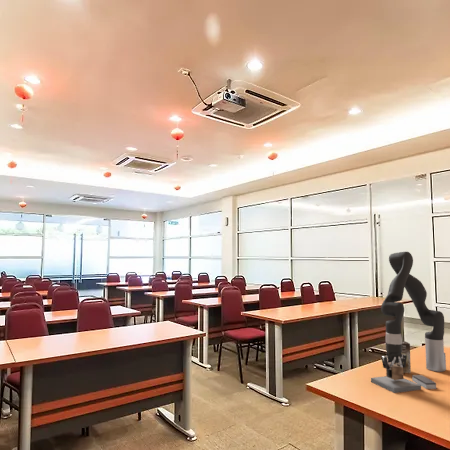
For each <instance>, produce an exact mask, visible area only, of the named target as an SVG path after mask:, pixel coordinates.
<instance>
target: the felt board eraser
mask: <svg viewBox="0 0 450 450" xmlns="http://www.w3.org/2000/svg"><path fill="white" fill-rule="evenodd" d="M411 380H412V382H414V383H417V384H419V385H421V388H424V389H426V390H437V382H435V381H434V380H431V379H430V378H428V377H427V376H425V375H422V374H412V378H411Z"/></svg>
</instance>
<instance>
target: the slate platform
mask: <svg viewBox="0 0 450 450" xmlns="http://www.w3.org/2000/svg"><path fill="white" fill-rule="evenodd" d="M403 378H404V377H403ZM370 382H371V383H372V384H375V385H377V386H379V387H380V388H382V389H385V390H387V391H389V392H391V393H393V394H396V393H397V394H398V393H404V392H405V393H406V392H413V391H421V390H422V386H421V385H419V384H417V383H415V382H414V381H411V380H409V379H407V378H404V379H399V380H393V379H391V378H389V377H386V375H385V376H384V375H383V376H376V377H371V378H370Z"/></svg>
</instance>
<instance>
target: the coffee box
mask: <svg viewBox="0 0 450 450" xmlns="http://www.w3.org/2000/svg"><path fill="white" fill-rule="evenodd" d="M401 354H404V355H407V360H406V367H404V368H403V374H411V372H412V370H411V369H412V368H411V344H410V343H409V342H407V341H405V340H404V341H403V340H402V353H401ZM390 363H391V362H390ZM403 363H404V362H403ZM394 364H395V365H397V364H396V363H394Z"/></svg>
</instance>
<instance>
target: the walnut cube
mask: <svg viewBox="0 0 450 450" xmlns="http://www.w3.org/2000/svg"><path fill="white" fill-rule="evenodd" d="M389 367H390V365H389ZM391 370H392V378H391V379H393V380H399V379H404V373H403V367H400V366H397V365H395V364H394V365H393V366H392V369H391ZM385 374H386V375H385V376H386V377H388V376H387V369H386V368H385ZM389 378H390V377H389Z"/></svg>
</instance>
